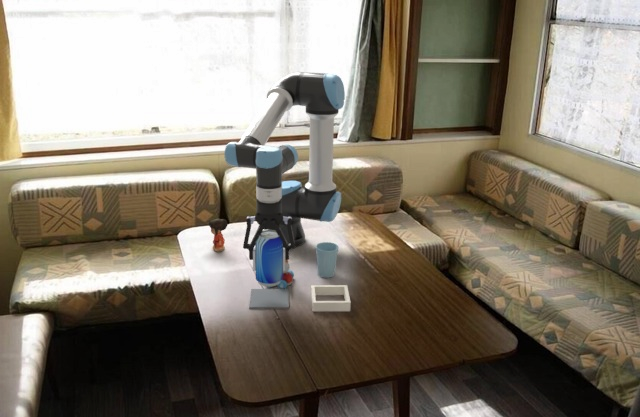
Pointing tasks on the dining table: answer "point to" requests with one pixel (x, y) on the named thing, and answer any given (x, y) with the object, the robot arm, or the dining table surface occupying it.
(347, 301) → the pocket
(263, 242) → the beer can
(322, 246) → the cup
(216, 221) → the figurine
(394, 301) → the dining table surface
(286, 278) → the toy car
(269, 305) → the mat
